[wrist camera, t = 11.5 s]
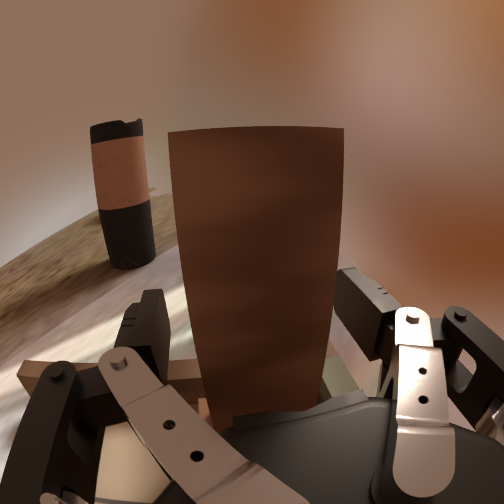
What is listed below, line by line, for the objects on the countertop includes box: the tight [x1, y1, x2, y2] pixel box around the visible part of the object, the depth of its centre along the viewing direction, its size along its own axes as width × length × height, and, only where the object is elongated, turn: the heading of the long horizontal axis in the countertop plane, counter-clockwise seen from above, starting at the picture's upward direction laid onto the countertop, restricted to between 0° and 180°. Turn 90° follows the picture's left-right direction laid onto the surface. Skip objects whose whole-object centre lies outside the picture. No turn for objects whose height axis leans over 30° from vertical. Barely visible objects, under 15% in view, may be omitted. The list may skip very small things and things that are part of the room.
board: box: [17, 339, 360, 504], centre depth 12 cm, size 21×10×4 cm, turn 100°
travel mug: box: [90, 118, 156, 269], centre depth 37 cm, size 8×8×20 cm
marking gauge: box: [168, 126, 344, 432], centre depth 10 cm, size 6×6×15 cm
